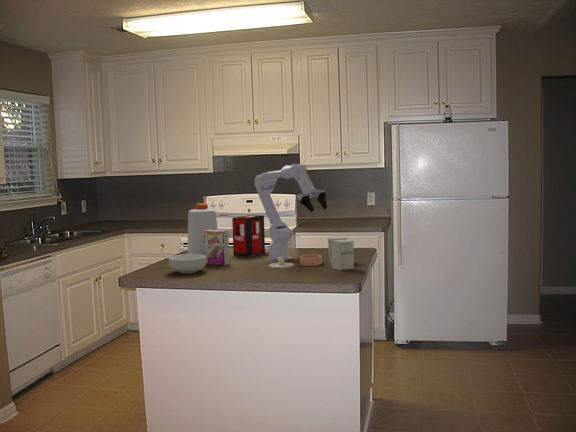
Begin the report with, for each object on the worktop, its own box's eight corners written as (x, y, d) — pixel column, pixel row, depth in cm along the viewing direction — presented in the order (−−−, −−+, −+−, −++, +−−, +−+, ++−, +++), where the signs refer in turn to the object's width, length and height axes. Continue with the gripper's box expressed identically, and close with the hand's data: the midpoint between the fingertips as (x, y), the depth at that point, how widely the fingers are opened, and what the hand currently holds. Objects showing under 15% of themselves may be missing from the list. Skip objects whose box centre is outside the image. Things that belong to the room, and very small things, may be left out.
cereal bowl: (189, 277, 246) (188, 260, 246) (161, 274, 255) (160, 258, 254) (214, 270, 261) (214, 255, 260) (187, 267, 269) (186, 252, 269)
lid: (263, 266, 264) (263, 257, 264) (278, 262, 273) (278, 254, 273) (283, 269, 257) (283, 259, 257) (298, 264, 267) (298, 256, 266)
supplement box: (340, 270, 252) (339, 242, 251) (331, 268, 259) (330, 240, 258) (354, 268, 256) (353, 240, 255) (345, 266, 262) (344, 239, 261)
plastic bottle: (213, 255, 304) (211, 202, 301) (222, 259, 290) (220, 204, 287) (185, 257, 297) (183, 203, 295) (193, 262, 284) (191, 205, 281)
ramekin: (295, 265, 268) (295, 256, 268) (308, 262, 276) (307, 253, 276) (313, 267, 262) (313, 258, 262) (325, 263, 270) (325, 255, 270)
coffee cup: (346, 264, 267) (346, 238, 266) (326, 264, 269) (326, 238, 268) (348, 260, 277) (348, 236, 275) (329, 260, 278) (328, 236, 277)
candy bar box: (204, 264, 276) (203, 230, 274) (210, 262, 280) (209, 229, 279) (224, 265, 271) (223, 231, 270) (230, 264, 276) (228, 230, 274)
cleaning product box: (247, 257, 295) (246, 218, 293) (233, 256, 299) (232, 217, 297) (265, 252, 309) (263, 215, 307) (251, 251, 314) (250, 215, 312)
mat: (263, 267, 264) (263, 266, 264) (278, 263, 274) (278, 262, 274) (283, 270, 257) (283, 269, 257) (299, 265, 267) (299, 264, 267)
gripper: (297, 182, 261) (310, 207, 255) (322, 178, 268) (335, 202, 263) (291, 191, 266) (303, 215, 261) (316, 187, 274) (328, 210, 269)
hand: (319, 209), depth 262 cm, fingers open, 7 cm apart
